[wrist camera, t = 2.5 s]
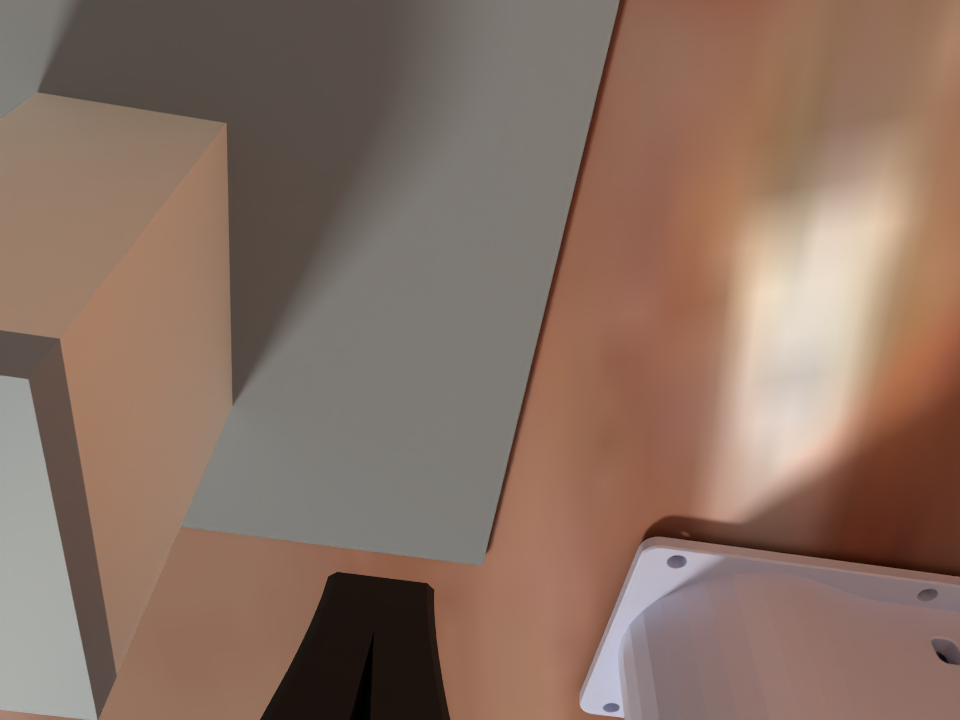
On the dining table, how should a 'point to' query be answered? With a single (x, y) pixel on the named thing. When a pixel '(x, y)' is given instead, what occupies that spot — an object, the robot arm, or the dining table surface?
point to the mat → (358, 234)
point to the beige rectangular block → (102, 378)
